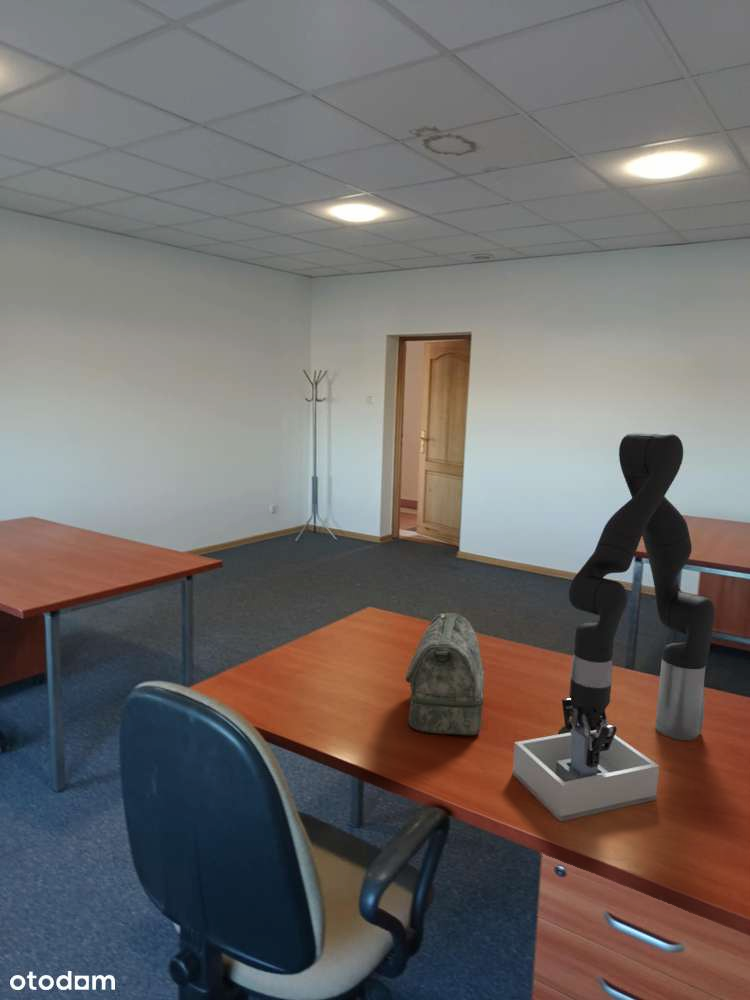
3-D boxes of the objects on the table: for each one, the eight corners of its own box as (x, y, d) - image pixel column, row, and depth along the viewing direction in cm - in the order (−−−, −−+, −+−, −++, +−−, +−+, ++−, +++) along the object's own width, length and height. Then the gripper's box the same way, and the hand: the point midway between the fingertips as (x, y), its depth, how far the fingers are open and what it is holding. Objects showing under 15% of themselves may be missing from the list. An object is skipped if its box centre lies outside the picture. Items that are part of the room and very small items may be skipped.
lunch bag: (416, 685, 174) (419, 606, 170) (484, 693, 170) (489, 613, 167) (400, 732, 148) (403, 641, 145) (480, 743, 145) (485, 649, 142)
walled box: (600, 757, 140) (603, 726, 139) (655, 799, 125) (659, 765, 124) (512, 774, 133) (514, 742, 132) (560, 821, 118) (562, 786, 117)
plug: (584, 772, 131) (588, 726, 129) (596, 782, 128) (600, 735, 126) (569, 776, 130) (573, 729, 128) (581, 786, 126) (584, 738, 125)
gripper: (632, 690, 120) (624, 776, 123) (583, 661, 134) (577, 739, 136) (599, 696, 118) (592, 783, 120) (552, 665, 131) (547, 745, 133)
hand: (584, 759), depth 128 cm, fingers open, 4 cm apart
